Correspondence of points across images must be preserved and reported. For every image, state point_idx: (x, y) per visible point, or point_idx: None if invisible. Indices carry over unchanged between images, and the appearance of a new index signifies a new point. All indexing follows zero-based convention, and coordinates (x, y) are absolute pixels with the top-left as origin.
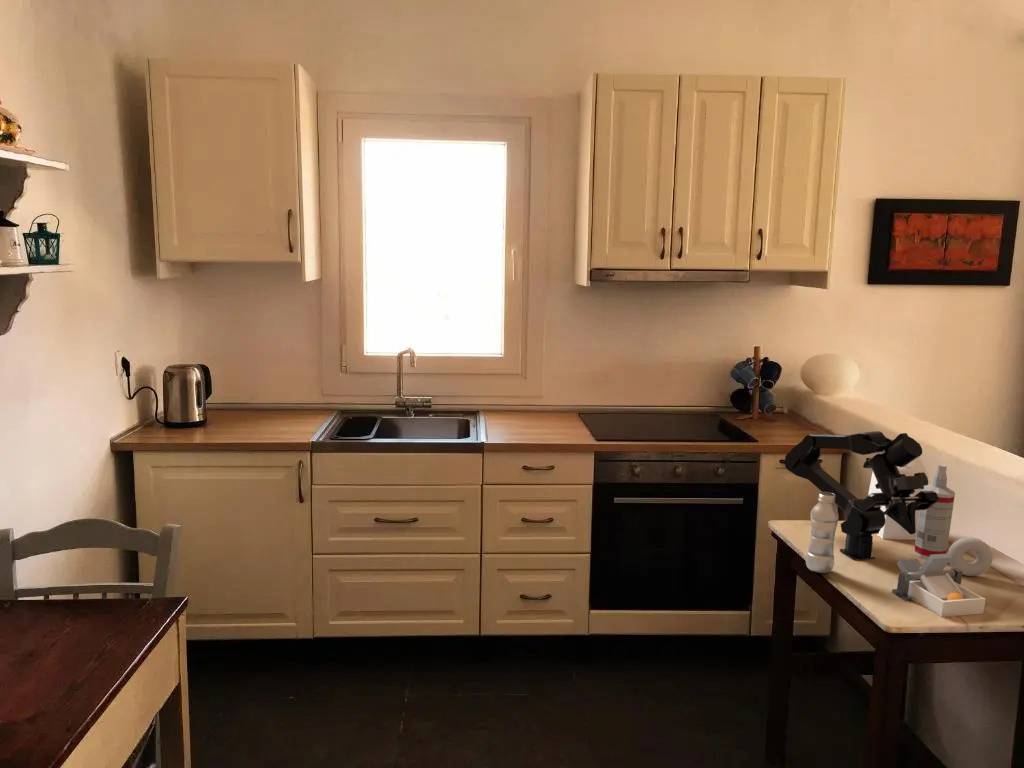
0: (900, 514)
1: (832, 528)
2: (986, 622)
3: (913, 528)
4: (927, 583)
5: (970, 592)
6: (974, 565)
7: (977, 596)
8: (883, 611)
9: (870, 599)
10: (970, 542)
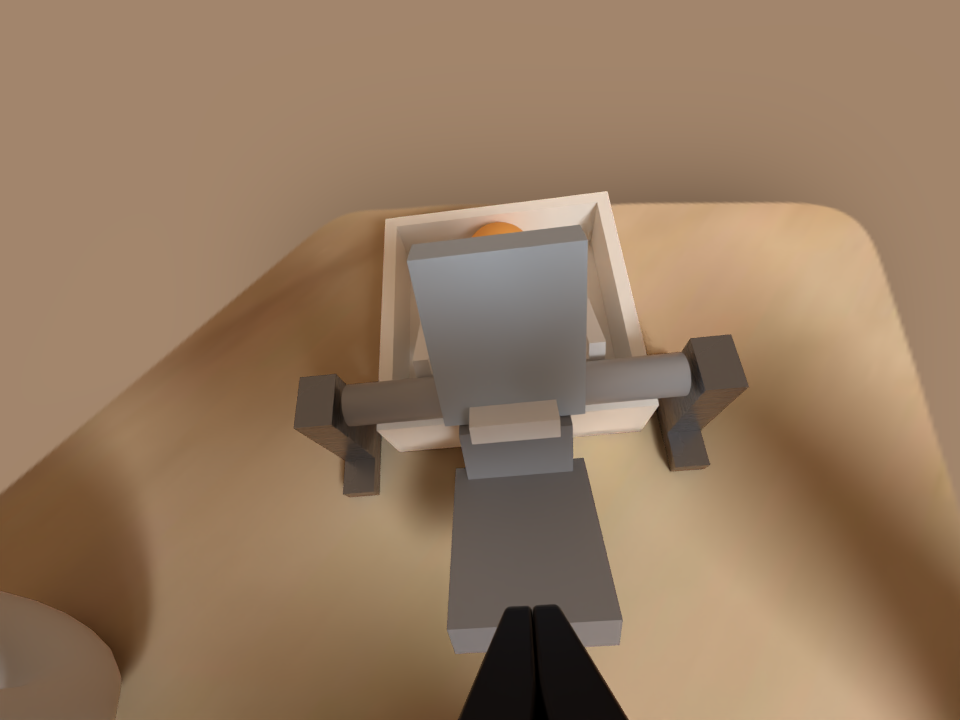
0: None
1: None
2: (450, 205)
3: (531, 648)
4: (593, 312)
5: (396, 277)
6: (10, 635)
7: (396, 245)
8: (841, 283)
9: (866, 397)
10: None
